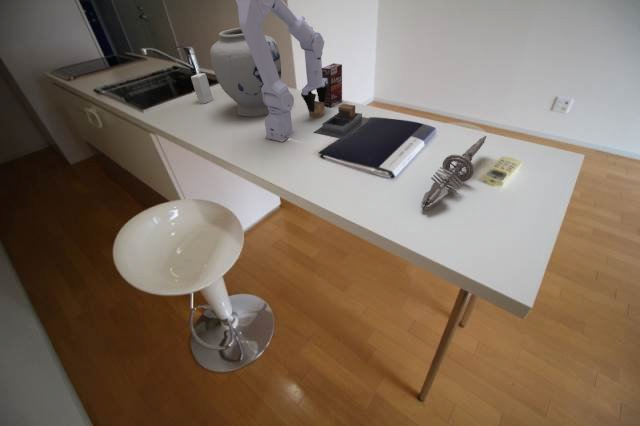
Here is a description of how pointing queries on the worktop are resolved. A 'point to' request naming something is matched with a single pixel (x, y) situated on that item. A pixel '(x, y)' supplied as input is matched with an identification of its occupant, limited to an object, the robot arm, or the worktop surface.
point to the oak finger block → (318, 110)
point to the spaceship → (451, 175)
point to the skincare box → (202, 88)
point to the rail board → (341, 126)
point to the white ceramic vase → (241, 71)
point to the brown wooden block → (346, 111)
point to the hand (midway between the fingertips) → (316, 108)
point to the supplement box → (333, 84)
